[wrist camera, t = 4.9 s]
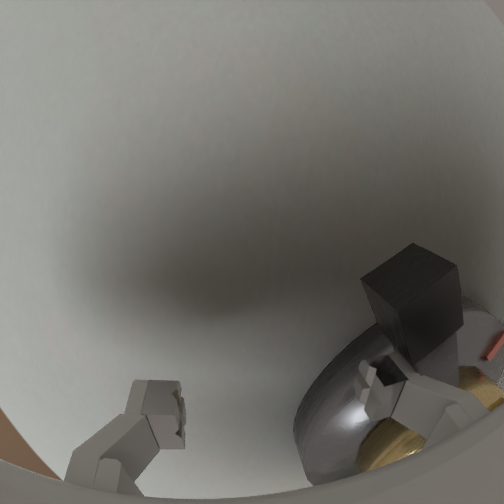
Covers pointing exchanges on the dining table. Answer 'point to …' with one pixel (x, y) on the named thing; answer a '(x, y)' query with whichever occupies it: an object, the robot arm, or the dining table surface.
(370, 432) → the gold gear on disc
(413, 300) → the lever handle valve
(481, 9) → the dining table surface
